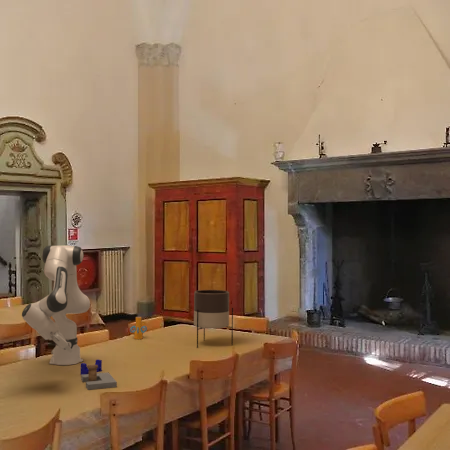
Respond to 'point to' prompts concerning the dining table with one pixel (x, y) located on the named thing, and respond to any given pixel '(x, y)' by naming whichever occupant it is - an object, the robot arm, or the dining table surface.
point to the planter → (211, 310)
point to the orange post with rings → (138, 329)
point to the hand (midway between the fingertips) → (70, 349)
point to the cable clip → (86, 371)
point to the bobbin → (92, 372)
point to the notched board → (100, 381)
